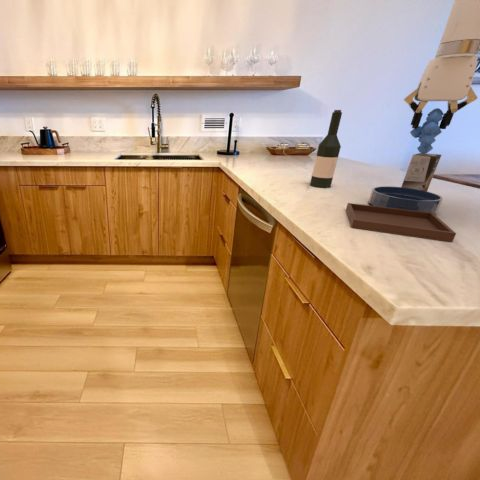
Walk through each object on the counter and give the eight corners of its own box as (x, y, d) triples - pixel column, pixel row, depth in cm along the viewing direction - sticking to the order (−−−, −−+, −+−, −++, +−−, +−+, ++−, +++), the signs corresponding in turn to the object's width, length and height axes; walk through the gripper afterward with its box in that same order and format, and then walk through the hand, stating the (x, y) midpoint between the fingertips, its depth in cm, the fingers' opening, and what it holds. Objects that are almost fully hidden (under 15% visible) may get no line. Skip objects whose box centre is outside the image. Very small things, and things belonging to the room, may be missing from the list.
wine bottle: (306, 185, 124) (322, 109, 112) (313, 182, 130) (329, 109, 117) (327, 189, 119) (346, 110, 106) (333, 185, 124) (353, 110, 112)
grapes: (405, 151, 89) (417, 108, 84) (434, 152, 85) (449, 107, 80) (402, 155, 81) (415, 109, 76) (434, 156, 77) (450, 107, 72)
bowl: (426, 203, 100) (431, 189, 98) (445, 220, 86) (452, 204, 83) (364, 197, 108) (368, 184, 106) (372, 211, 93) (377, 196, 91)
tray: (429, 220, 86) (432, 212, 85) (452, 242, 71) (456, 233, 70) (345, 209, 94) (347, 202, 93) (351, 227, 80) (353, 219, 79)
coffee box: (418, 204, 100) (436, 156, 93) (395, 200, 105) (412, 154, 98) (424, 199, 105) (442, 154, 98) (403, 195, 110) (419, 152, 103)
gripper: (495, 51, 72) (463, 128, 79) (409, 56, 79) (388, 127, 86) (511, 46, 66) (475, 130, 73) (417, 52, 73) (393, 128, 80)
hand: (428, 127), depth 80 cm, fingers closed on grapes, 5 cm apart
